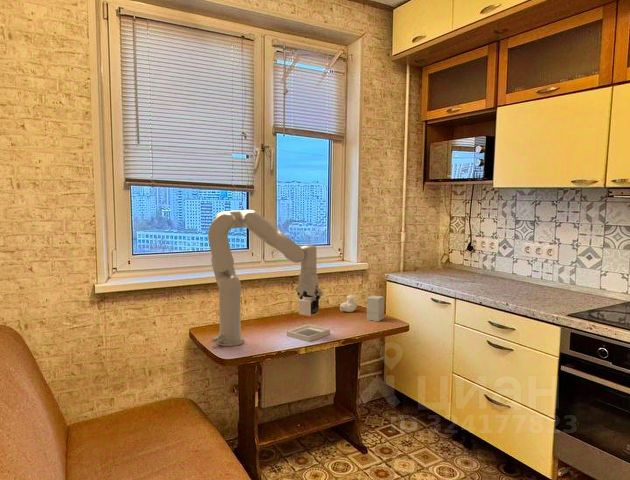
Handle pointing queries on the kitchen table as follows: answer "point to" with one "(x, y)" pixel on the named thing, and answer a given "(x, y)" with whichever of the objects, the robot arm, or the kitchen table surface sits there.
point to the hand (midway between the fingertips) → (308, 306)
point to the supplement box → (375, 308)
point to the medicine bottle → (307, 305)
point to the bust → (349, 304)
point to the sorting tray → (308, 332)
